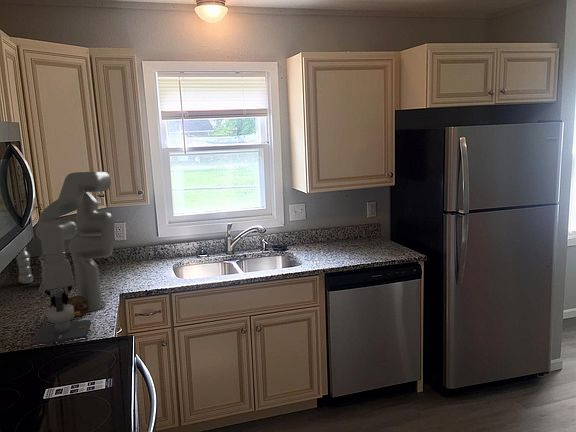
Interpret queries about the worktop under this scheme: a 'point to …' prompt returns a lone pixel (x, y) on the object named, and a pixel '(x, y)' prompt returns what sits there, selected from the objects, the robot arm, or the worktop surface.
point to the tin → (78, 304)
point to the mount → (62, 332)
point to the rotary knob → (61, 310)
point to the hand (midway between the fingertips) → (60, 304)
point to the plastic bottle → (24, 267)
